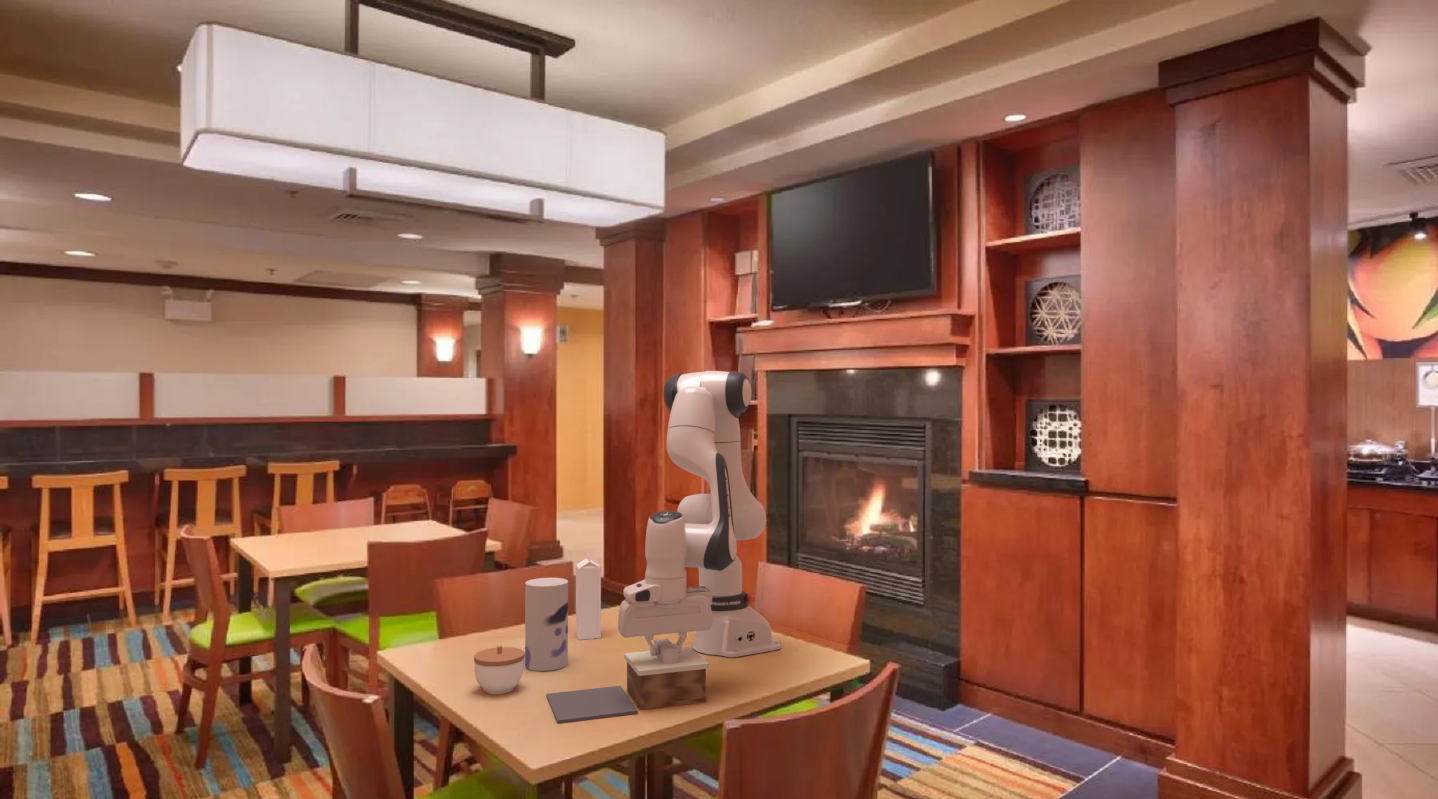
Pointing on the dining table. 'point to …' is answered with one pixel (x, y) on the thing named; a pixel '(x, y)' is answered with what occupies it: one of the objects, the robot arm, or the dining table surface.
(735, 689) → the dining table surface
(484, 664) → the lidded jar
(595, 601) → the milk
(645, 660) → the lid
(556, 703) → the mat
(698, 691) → the box
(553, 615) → the container
